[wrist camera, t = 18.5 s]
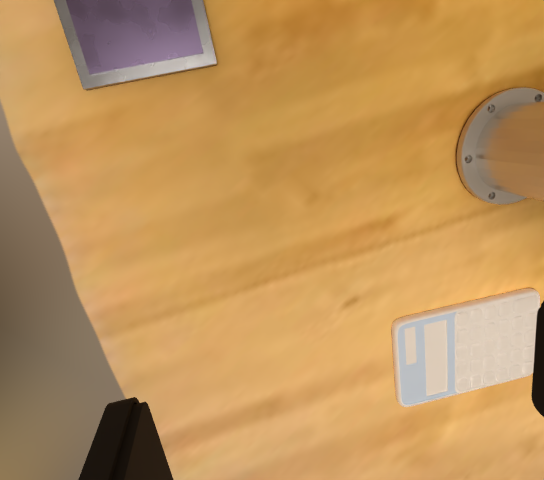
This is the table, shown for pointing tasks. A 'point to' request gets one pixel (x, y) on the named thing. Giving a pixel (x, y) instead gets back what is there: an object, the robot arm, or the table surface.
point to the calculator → (464, 346)
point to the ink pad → (135, 39)
